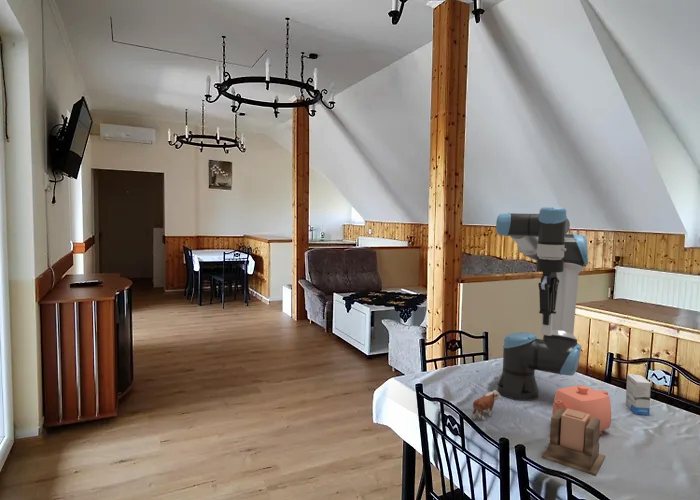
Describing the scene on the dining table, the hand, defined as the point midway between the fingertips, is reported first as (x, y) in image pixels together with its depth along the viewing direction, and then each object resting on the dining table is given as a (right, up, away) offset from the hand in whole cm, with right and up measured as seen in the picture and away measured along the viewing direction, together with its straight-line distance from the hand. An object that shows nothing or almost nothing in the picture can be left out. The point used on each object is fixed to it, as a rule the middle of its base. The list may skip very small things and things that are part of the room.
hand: (546, 334), depth 140 cm
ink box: (+42, -32, +23) cm, 58 cm away
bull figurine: (-14, -31, +16) cm, 38 cm away
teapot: (+14, -32, +8) cm, 36 cm away
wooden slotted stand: (+3, -33, -10) cm, 35 cm away
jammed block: (+3, -33, -10) cm, 34 cm away
